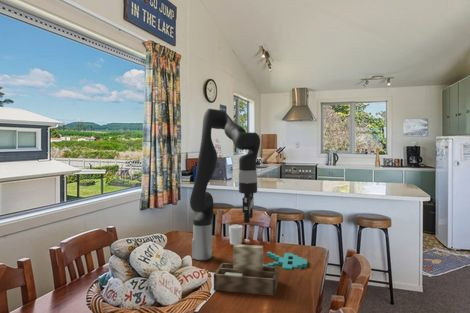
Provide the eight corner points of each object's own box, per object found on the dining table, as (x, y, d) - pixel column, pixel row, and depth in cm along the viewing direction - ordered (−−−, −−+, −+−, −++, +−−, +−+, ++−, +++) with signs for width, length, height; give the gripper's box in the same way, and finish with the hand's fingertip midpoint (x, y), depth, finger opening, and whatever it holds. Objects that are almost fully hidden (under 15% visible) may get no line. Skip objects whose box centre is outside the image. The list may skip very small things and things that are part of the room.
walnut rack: (213, 292, 129) (213, 274, 129) (221, 278, 142) (221, 262, 141) (275, 298, 124) (275, 279, 124) (277, 283, 137) (278, 266, 136)
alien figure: (262, 270, 152) (307, 274, 148) (262, 266, 151) (307, 269, 147) (267, 255, 171) (306, 258, 167) (267, 251, 171) (306, 254, 167)
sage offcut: (223, 288, 130) (223, 276, 130) (225, 284, 134) (225, 272, 134) (240, 290, 128) (240, 277, 128) (242, 285, 132) (242, 273, 132)
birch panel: (233, 282, 136) (233, 246, 135) (234, 279, 139) (234, 244, 138) (262, 284, 133) (262, 248, 133) (263, 281, 136) (263, 245, 135)
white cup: (238, 246, 185) (237, 228, 185) (226, 244, 190) (226, 226, 189) (245, 242, 192) (245, 225, 192) (233, 240, 196) (233, 224, 196)
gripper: (241, 179, 143) (242, 216, 143) (235, 183, 129) (236, 224, 129) (259, 179, 141) (259, 216, 142) (254, 183, 127) (255, 224, 128)
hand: (248, 220), depth 136 cm, fingers open, 8 cm apart
